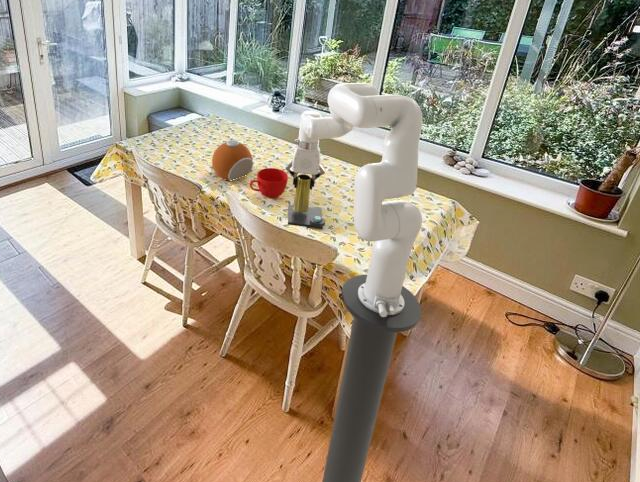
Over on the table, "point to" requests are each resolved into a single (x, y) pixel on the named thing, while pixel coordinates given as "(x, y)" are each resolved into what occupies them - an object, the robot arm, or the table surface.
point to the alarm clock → (232, 160)
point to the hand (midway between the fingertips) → (303, 186)
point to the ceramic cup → (271, 182)
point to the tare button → (317, 219)
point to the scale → (305, 218)
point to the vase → (302, 193)
